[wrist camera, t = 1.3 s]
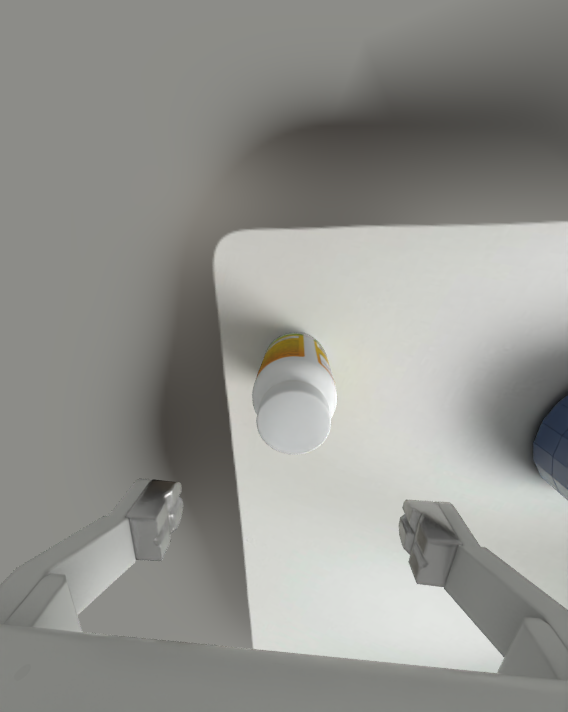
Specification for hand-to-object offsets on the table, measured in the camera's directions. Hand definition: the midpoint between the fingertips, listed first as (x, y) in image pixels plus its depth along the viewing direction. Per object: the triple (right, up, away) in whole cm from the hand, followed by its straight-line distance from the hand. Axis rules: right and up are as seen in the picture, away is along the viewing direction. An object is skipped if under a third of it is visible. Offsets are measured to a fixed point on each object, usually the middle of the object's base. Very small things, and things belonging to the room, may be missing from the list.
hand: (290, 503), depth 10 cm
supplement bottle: (+1, +5, +14) cm, 15 cm away
